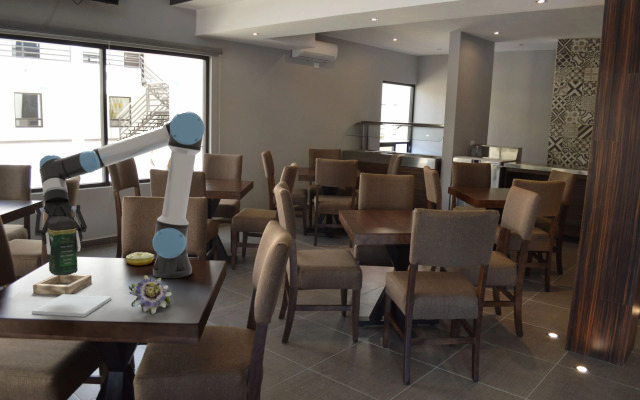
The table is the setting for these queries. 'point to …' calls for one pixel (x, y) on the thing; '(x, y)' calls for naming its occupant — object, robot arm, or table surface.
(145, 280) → the passion flower
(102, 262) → the table surface
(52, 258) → the coffee jar
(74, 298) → the ceramic tile
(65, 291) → the holder collar
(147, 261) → the decorated donut
